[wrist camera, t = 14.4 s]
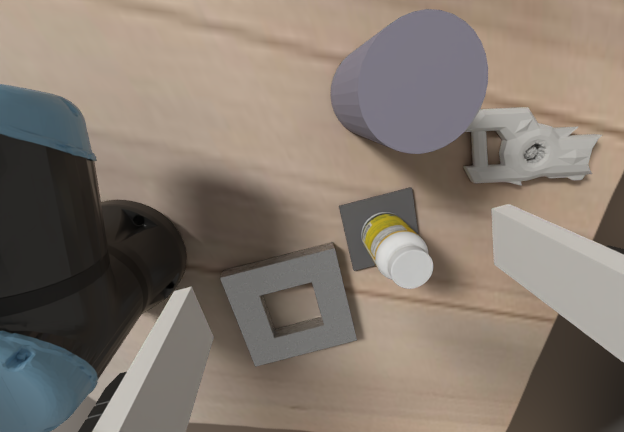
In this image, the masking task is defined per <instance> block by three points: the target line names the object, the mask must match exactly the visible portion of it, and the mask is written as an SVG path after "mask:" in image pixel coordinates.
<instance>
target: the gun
mask: <svg viewBox="0 0 624 432" xmlns="http://www.w3.org/2000/svg"><path fill="white" fill-rule="evenodd" d="M577 128H578V127H557V128H553V127H552V126H548V125H544V124H540V123H538V122H537V121H536V119H535V117H534V116H533V114H532V113H531V111H530V109H529V108H528V107H518V108H496V109H480V110H479V112H478V113H477V115H476V117H475V119H474V120H473V122H472V123H471V124H470V126H469V127H468V128H467V129H466V131H465V132H471V141H472V159H473V166H463V168H464V169H465V171H466V173H467V175H468V177H469V179H470V181H471V182H473V183H492V182H509V183H513V184H517V185H522V184H521V181H528V180H531V179H534V178H538V177H541V176H546V177H547V178H565V177H567V178H569V179H571V180H582V179H583V177H584V176H585V175H586V174H592V173H591V171H590V169H589V165H588V163H589V159H590V155H591V152H592V148H593V147H594V145H595V143H596V142H597V140H598V139H599V138H600V137H601V136H602V135H599V134H586V135H570V134H571V133H572V132H573V131H574V130H576V129H577ZM495 130H496V132H497V133H498V135H499V136H500V137H501V139H502V143H501V147H500V150H499V157H500V163H501V164H497V165H488V157H487V140H486V131H495ZM532 145H533V146H532ZM524 157H525V158H526V159H524Z"/></svg>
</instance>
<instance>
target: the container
mask: <svg viewBox="0 0 624 432" xmlns="http://www.w3.org/2000/svg"><path fill="white" fill-rule="evenodd" d="M487 84H488V65H487V58H486V53H485V51H484V48H483V45H482V43H481V41H480V39H479V37H478V36H477V34H476V33H475V31H474V30H473V29H472V28H471V27H470V26H469V25H468V24H467V23H466V22H465V21H464V20H462V19H461V18H459V17H457V16H456V15H454V14H451V13H448V12H445V11H442V10H431V9H426V10H420V11H414V12H411V13H409V14H407V15H404V16H402V17H400V18H398V19H397V20H395V21H394V22H392V23H391V24H389V25H388V26H387V27H385V28H384V29H383V30H381V31H380V32H379V33H377V34H376V35H375V36H373V37H372V38H371V39H369V40H368V41H367V42H365V43H364V44H363V45H361V46H360V47H359V48H357V49H356V50H355V51H353V52H352V53H351V54H349V55H348V56H347V57H346V58H345V59H344V60H343V61H342V62H341V64H340V65H339V67H338V68H337V70H336V73H335V75H334V77H333V81H332V85H331V102H332V106H333V109H334V112H335V114H336V116H337V118H338V120H339V121H340V122H341V123H342V125H343V126H344V127H345V128H347V129H348V130H350V131H351V132H353V133H355V134H357V135H360V136H362V137H365V138H367V139H370V140H372V141H374V142H377V143H379V144H382V145H384V146H387V147H389V148H392V149H394V150H397V151H400V152H405V153H411V154H422V153H427V152H432V151H435V150H437V149H440V148H442V147H445V146H446V145H448V144H449V143H451V142H453V141H454V140H456V139H457V138H458V137H459V136H460V135H461V134H462V133H464V132H465V131H466V129H467V128H468V127H469V126H470V124H471V123H472V122H473V120H474V119H475V117H476V115H477V113H478V112H479V110H480V108H481V105H482V103H483V100H484V97H485V94H486V89H487Z"/></svg>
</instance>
